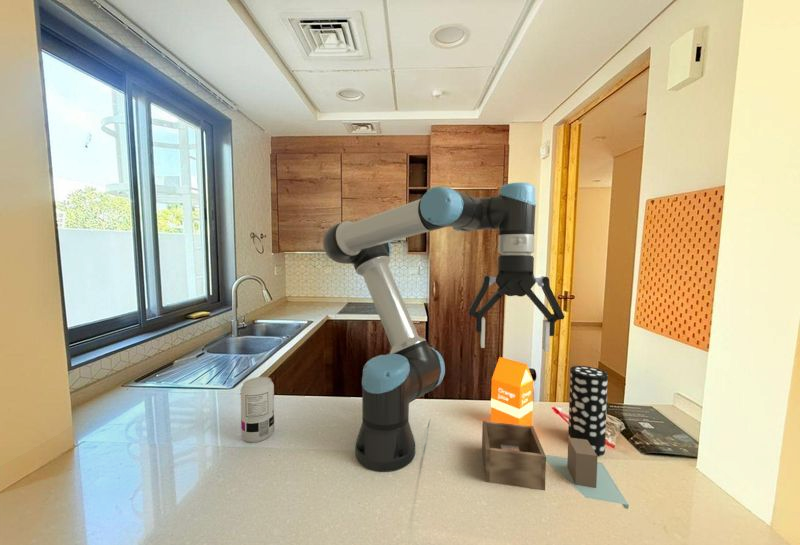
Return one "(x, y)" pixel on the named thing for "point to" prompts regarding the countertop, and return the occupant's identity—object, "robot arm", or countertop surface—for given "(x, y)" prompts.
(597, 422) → the white-spotted black cylinder
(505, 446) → the metal cube
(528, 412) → the orange juice
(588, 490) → the lid
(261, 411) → the supplement can
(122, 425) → the countertop surface
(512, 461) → the storage box
